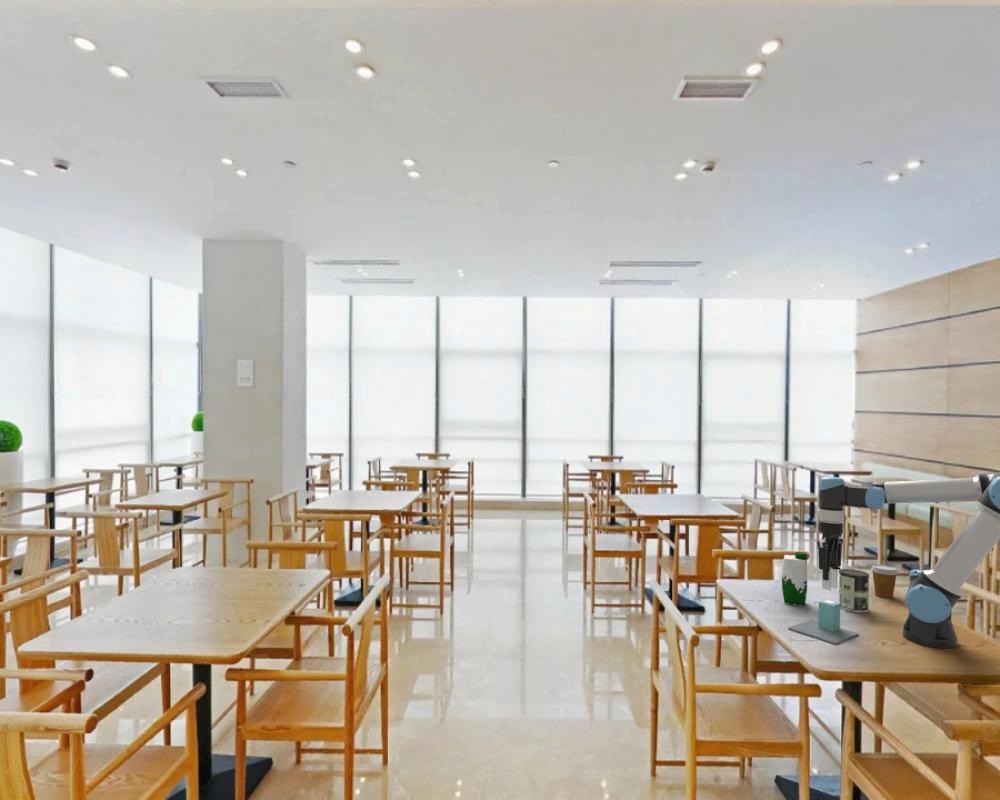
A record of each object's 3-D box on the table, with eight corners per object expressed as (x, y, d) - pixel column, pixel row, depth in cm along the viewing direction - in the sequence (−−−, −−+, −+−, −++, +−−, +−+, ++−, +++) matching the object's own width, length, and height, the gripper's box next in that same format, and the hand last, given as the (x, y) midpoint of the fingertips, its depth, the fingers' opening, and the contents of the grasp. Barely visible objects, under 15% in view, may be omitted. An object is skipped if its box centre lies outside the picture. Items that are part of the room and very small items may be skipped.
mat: (858, 635, 205) (858, 633, 205) (835, 644, 196) (835, 642, 196) (812, 620, 218) (812, 619, 218) (788, 629, 209) (788, 627, 209)
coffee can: (868, 607, 236) (869, 571, 236) (868, 614, 227) (869, 577, 227) (838, 602, 241) (839, 567, 241) (837, 609, 232) (838, 572, 232)
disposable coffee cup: (903, 599, 248) (903, 569, 248) (884, 599, 246) (884, 570, 246) (883, 591, 257) (884, 564, 257) (865, 592, 255) (865, 564, 255)
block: (840, 629, 209) (840, 602, 209) (832, 631, 206) (833, 605, 206) (825, 624, 213) (825, 598, 213) (818, 627, 210) (818, 601, 210)
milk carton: (807, 607, 233) (808, 556, 233) (781, 603, 237) (782, 553, 237) (806, 601, 241) (807, 551, 241) (781, 597, 245) (782, 548, 245)
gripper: (831, 517, 218) (830, 582, 217) (807, 521, 208) (806, 589, 208) (853, 521, 211) (852, 587, 211) (829, 525, 202) (828, 594, 202)
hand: (829, 588), depth 209 cm, fingers open, 3 cm apart
